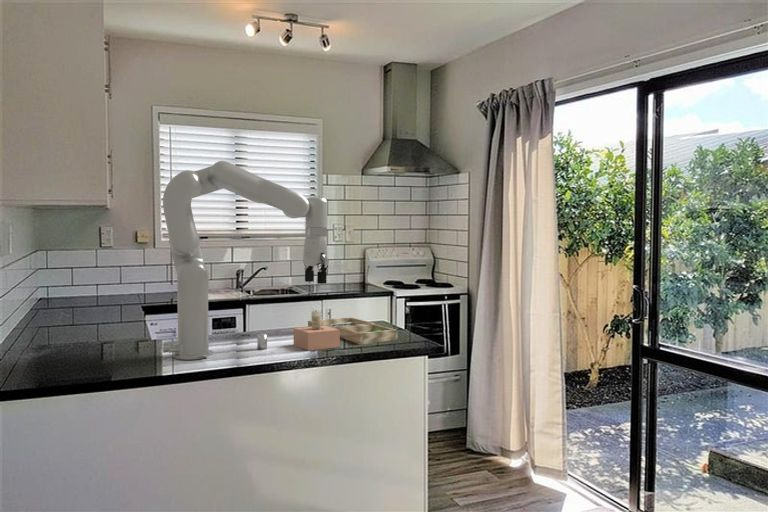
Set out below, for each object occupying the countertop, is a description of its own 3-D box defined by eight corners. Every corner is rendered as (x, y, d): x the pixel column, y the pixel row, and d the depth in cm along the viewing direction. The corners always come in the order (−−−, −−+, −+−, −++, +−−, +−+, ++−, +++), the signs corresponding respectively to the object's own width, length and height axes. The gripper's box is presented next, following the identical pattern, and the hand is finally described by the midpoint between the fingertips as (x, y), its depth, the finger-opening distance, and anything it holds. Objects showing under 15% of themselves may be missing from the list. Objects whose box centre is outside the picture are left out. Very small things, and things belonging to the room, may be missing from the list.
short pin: (259, 350, 202) (259, 335, 202) (256, 348, 205) (255, 334, 205) (268, 349, 204) (268, 334, 204) (264, 347, 207) (264, 333, 207)
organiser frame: (354, 345, 211) (354, 334, 211) (308, 330, 243) (307, 321, 243) (401, 340, 222) (401, 329, 222) (351, 326, 254) (351, 317, 254)
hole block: (308, 350, 202) (308, 332, 202) (293, 345, 212) (293, 328, 212) (339, 347, 208) (339, 329, 208) (324, 341, 218) (324, 325, 218)
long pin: (314, 347, 208) (314, 312, 207) (310, 345, 211) (310, 311, 210) (322, 346, 210) (322, 312, 209) (318, 344, 212) (318, 311, 212)
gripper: (295, 233, 214) (295, 281, 214) (317, 233, 199) (316, 284, 200) (314, 233, 218) (314, 280, 218) (337, 233, 203) (336, 284, 204)
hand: (315, 282), depth 209 cm, fingers open, 9 cm apart
